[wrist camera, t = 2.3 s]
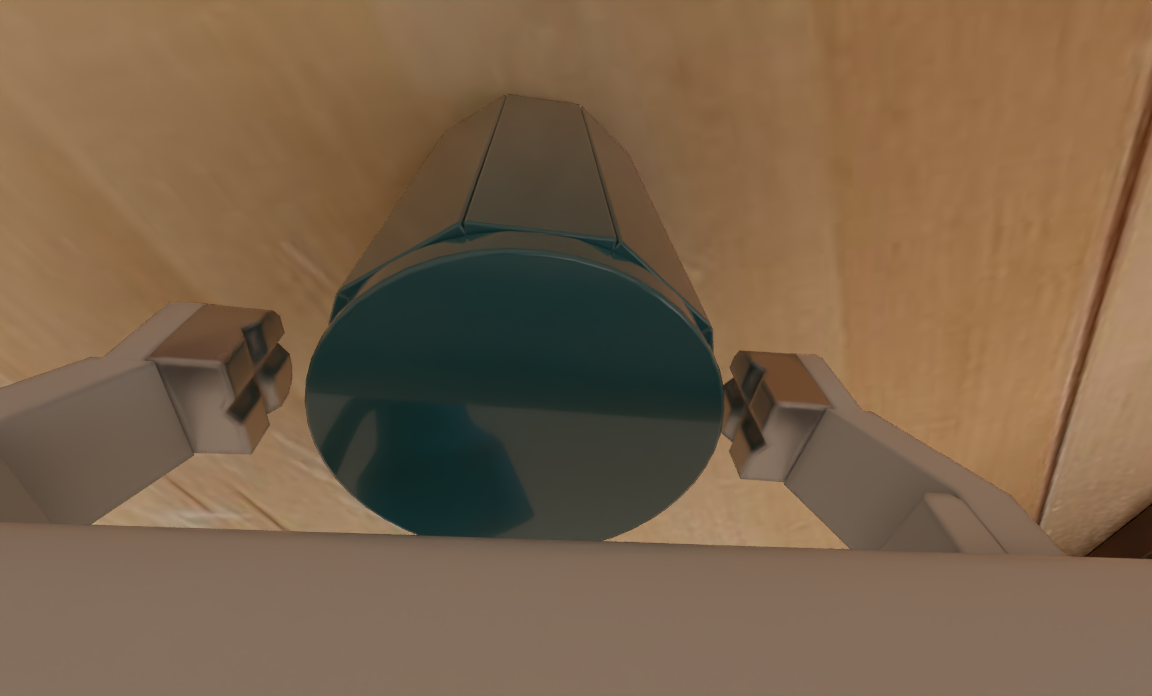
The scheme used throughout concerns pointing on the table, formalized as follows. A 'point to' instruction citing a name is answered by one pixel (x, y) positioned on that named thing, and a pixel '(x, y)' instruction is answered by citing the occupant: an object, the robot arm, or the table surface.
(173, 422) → the robot arm
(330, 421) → the teal piece
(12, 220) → the table surface
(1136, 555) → the rack
